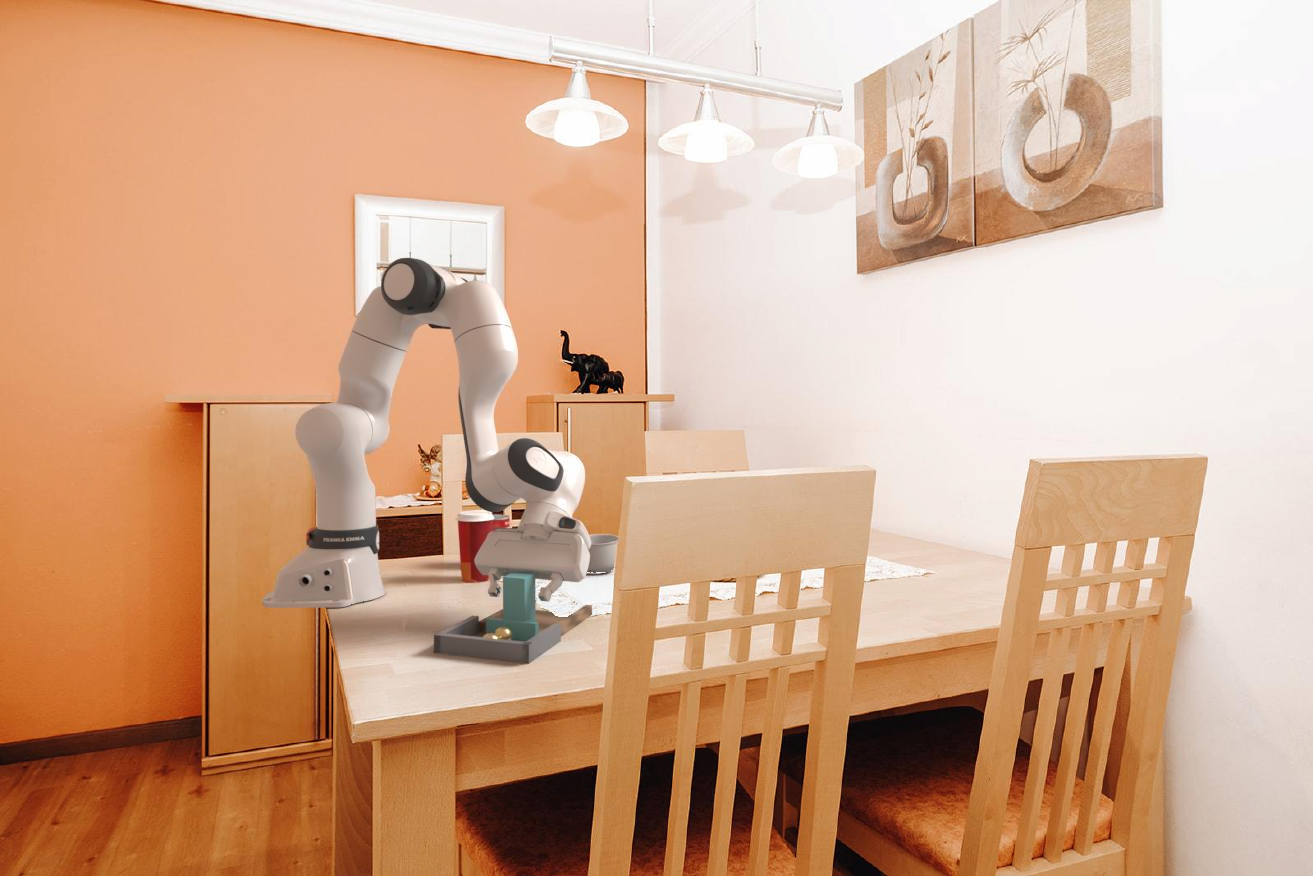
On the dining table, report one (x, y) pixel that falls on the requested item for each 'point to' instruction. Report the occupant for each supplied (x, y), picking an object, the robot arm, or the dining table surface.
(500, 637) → the ball
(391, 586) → the dining table surface
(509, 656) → the tray
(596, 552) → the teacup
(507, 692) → the dining table surface
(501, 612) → the channel
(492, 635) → the ball
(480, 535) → the coffee cup
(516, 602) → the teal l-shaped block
